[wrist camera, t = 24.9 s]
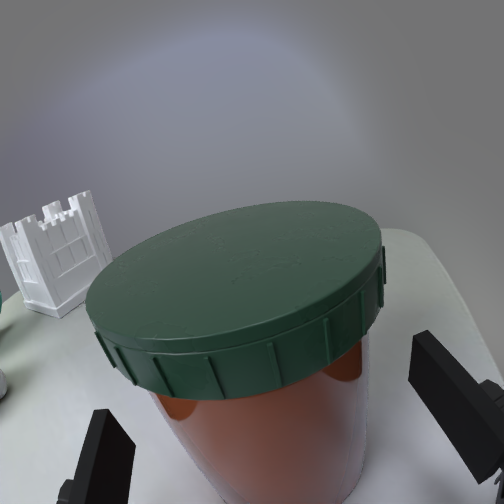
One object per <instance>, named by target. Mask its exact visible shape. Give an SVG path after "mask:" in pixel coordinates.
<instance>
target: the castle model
mask: <svg viewBox="0 0 504 504" xmlns="http://www.w3.org/2000/svg"><path fill="white" fill-rule="evenodd" d="M68 200H69V203H70V206H71V210H67V211H63V210H62V208H61V204H60V201H59V200H58V201H55V202H53V203H50V204H49V205H46V206H44V207H42V209H43V213H44V216H45V219H44V221H45V223H42V221H39V222H37V219H36V216H35V214H34V215H31V216H28V217H26V218H24V219H23V220H20V221H17V222H15V225H16V228H17V231H18V232H17V233H15V230H14V227H13V225H12V222H11V223H8V224H6V225H4V226H3V227H0V241H1V244H2V247H3V250H4V252H5V255H6V257H7V260H8V262H9V265H10V267H11V270H12V272H13V275H14V277H15V279H16V281H17V284H18V286H19V288H20V290H21V293H22V295H23V297H24V299H25V300H24V301H23V302H24V304H25V306H26V308H28V309H31V310H34V311H37V312H40V313H43V314H46V315H50V316H53V317H56V318H62V317H63V316H64V315H66V314H67V313H68V312H70V311H71V310H72V309H74V308H75V307H76V306H78V305H79V304H80V303H82V302H83V301H85V300H86V294H87V291H88V289H89V287H90V285H91V284H92V282H93V281H94V279H95V278H96V277H97V275H98V274H99V273H100V272H101V271H102V270H103V269H104V268H105V267H106V266H107V265H109V264H110V263H111V262H112V261H114V260H113V258H112V255H111V252H110V249H109V247H108V244H107V241H106V238H105V235H104V232H103V229H102V227H101V223H100V220H99V217H98V214H97V211H96V208H95V205H94V201H93V198H92V195H91V192H90V190H88V191H85V192H82V193H79V194H77V195H76V196H72V197H70V198H68Z"/></svg>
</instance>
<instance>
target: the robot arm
mask: <svg viewBox="0 0 504 504" xmlns="http://www.w3.org/2000/svg"><path fill="white" fill-rule="evenodd" d="M408 381H409V382H410V384H411V385H412V387H413V388H414V389H415V391H416V392H417V394H418V395H419V396H420V398H421V399H422V401H423V402H424V403H425V405H426V406H427V408H428V409H429V411H430V412H431V414H432V415H433V416H434V418H435V419H436V421H437V422H438V424H439V425H440V427H441V428H442V430H443V431H444V432H445V434H446V435H447V437H448V438H449V440H450V441H451V443H452V444H453V446H454V447H455V449H456V450H457V452H458V453H459V455H460V456H461V458H462V459H463V461H464V463H465V464H466V466H467V467H468V469H469V470H470V472H471V473H472V475H473V477H474V478H475V480H476V481H477V483H478V484H481V483H482V482H484V481H485V480H487V479H488V478H489V477H491V476H492V475H494V474H495V472H496V471H497V470H498V468H499V467H500V468H501V470H502V472H501V474H500V475H499V476H498V477H497V478H496V480H495V483H494V484H497V483H498V482H499V481H500V483H499V489H498V494H497V499H496V504H504V390H503V389H502V388H501V387H500V386H499V385H498V384H496V383H494V382H492V381H490V380H488V379H487V380H485V381H484V382H482V383H480V384H478V383H477V382H476V381H475V380H474V379H473V377H472V376H471V375H470V374H469V373H468V372H467V371H466V370H465V369H464V368H463V366H462V365H461V364H460V363H459V362H458V361H457V360H456V359H455V358H454V357H453V356H452V355H451V354H450V353H449V351H448V350H447V349H446V348H445V347H444V346H443V345H442V344H441V343H440V342H439V341H438V340H437V339H436V338H435V337H434V336H433V335H432V334H431V333H430V332H429V331H428V330H425V331H423V332H421V333H418V334H416V335H413V341H412V352H411V361H410V369H409V377H408ZM135 449H136V445H135V443H134V442H133V441H132V440H131V438H130V437H129V436H128V435H127V433H126V432H125V431H124V429H123V428H122V427H121V425H120V424H119V423H118V421H117V420H116V419H115V417H114V416H113V415H112V413H111V412H110V410H109V409H100V410H94V412H93V415H92V418H91V421H90V424H89V427H88V431H87V434H86V437H85V440H84V444H83V447H82V451H81V454H80V457H79V461H78V465H77V468H76V472H75V476H74V480H70V479H66V481H65V482H64V484H63V485H62V487H61V488H60V491H59V495H58V501H57V503H56V504H128V497H129V489H130V482H131V475H132V468H133V461H134V455H135Z"/></svg>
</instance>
